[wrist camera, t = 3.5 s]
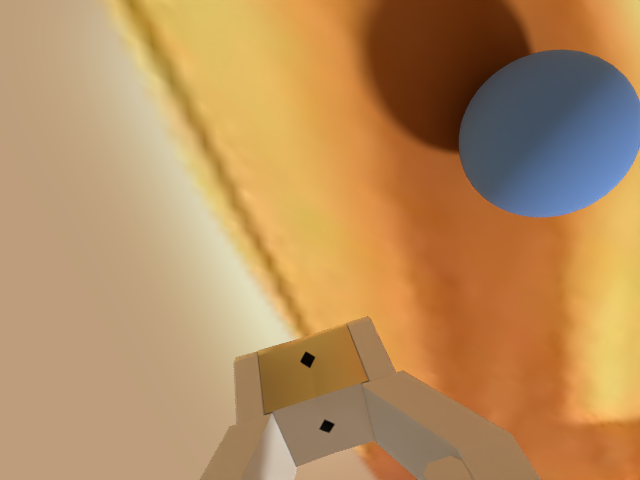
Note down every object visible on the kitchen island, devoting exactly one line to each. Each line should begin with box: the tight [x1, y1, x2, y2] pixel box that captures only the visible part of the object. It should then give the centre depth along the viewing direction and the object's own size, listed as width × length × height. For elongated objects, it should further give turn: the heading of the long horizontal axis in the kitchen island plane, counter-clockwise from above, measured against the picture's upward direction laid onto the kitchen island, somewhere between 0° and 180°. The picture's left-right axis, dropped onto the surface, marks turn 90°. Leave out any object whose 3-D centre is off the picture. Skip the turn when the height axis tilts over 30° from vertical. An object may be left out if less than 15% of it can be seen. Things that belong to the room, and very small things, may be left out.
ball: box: [459, 50, 640, 217], centre depth 15 cm, size 6×6×6 cm
